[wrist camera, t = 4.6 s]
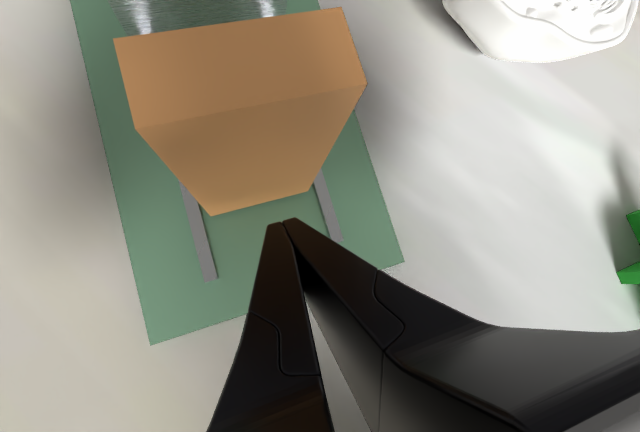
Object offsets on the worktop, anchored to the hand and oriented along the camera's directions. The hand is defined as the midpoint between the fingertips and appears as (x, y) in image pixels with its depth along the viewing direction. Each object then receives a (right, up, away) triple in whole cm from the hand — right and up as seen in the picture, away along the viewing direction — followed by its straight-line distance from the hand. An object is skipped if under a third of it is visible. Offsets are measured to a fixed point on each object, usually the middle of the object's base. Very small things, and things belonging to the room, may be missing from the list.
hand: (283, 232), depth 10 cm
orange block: (-2, +2, +7) cm, 8 cm away
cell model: (+12, +14, +13) cm, 23 cm away
